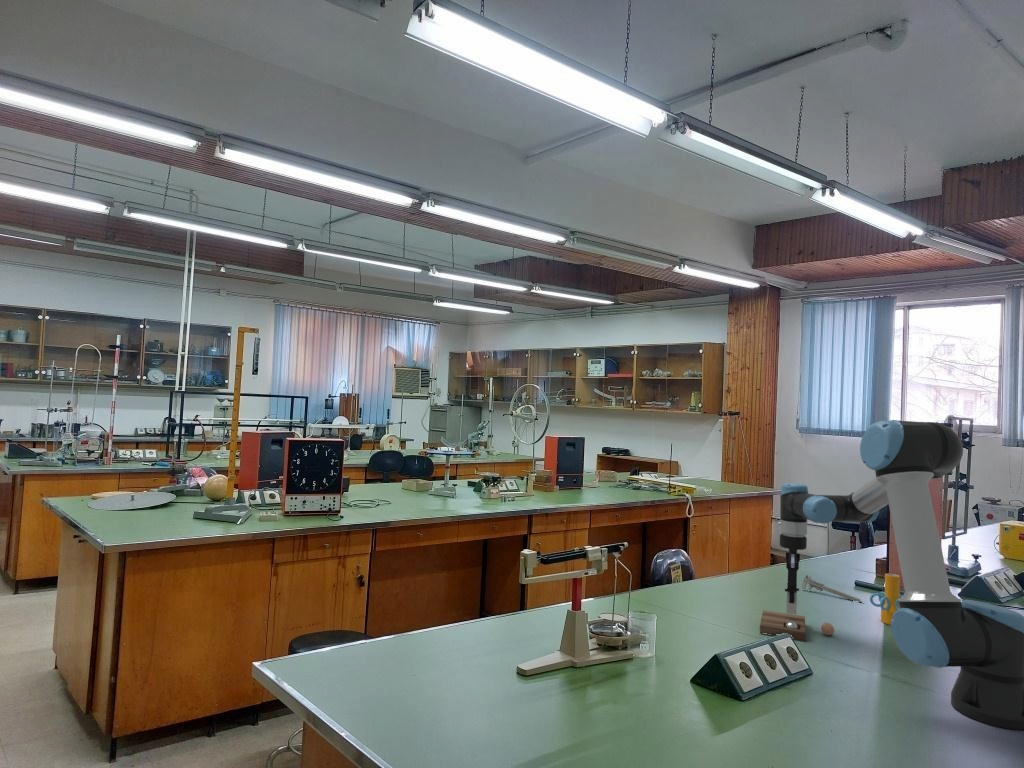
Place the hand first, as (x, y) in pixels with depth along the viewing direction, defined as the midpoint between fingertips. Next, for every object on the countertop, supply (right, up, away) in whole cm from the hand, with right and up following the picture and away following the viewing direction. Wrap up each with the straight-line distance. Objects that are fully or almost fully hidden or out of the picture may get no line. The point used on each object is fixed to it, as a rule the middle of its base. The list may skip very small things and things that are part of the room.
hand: (791, 612), depth 192 cm
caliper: (+31, -8, +36) cm, 48 cm away
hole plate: (-4, -4, -2) cm, 6 cm away
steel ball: (-3, -2, -6) cm, 7 cm away
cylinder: (+35, -6, +8) cm, 36 cm away
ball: (+8, -3, -6) cm, 10 cm away
